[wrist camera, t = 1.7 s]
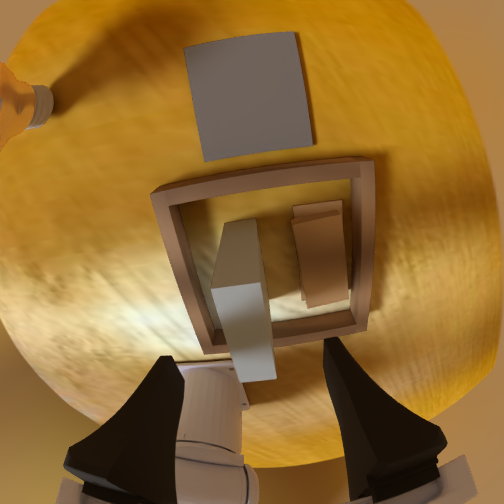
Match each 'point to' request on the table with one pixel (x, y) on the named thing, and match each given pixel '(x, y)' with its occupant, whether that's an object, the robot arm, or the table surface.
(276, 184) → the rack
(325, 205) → the offcut lower
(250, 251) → the light grey slab
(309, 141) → the mat
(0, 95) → the light bulb
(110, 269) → the table surface
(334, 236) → the offcut upper
